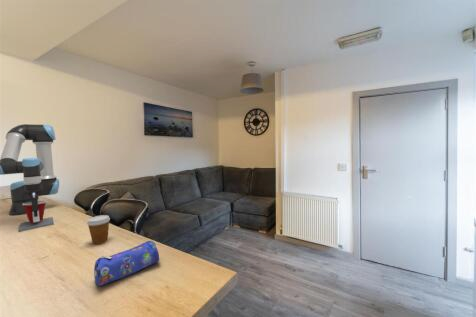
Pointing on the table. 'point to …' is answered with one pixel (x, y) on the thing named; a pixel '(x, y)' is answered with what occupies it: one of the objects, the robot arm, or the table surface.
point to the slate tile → (36, 224)
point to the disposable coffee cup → (99, 228)
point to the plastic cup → (40, 206)
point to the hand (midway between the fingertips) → (36, 219)
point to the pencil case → (125, 263)
